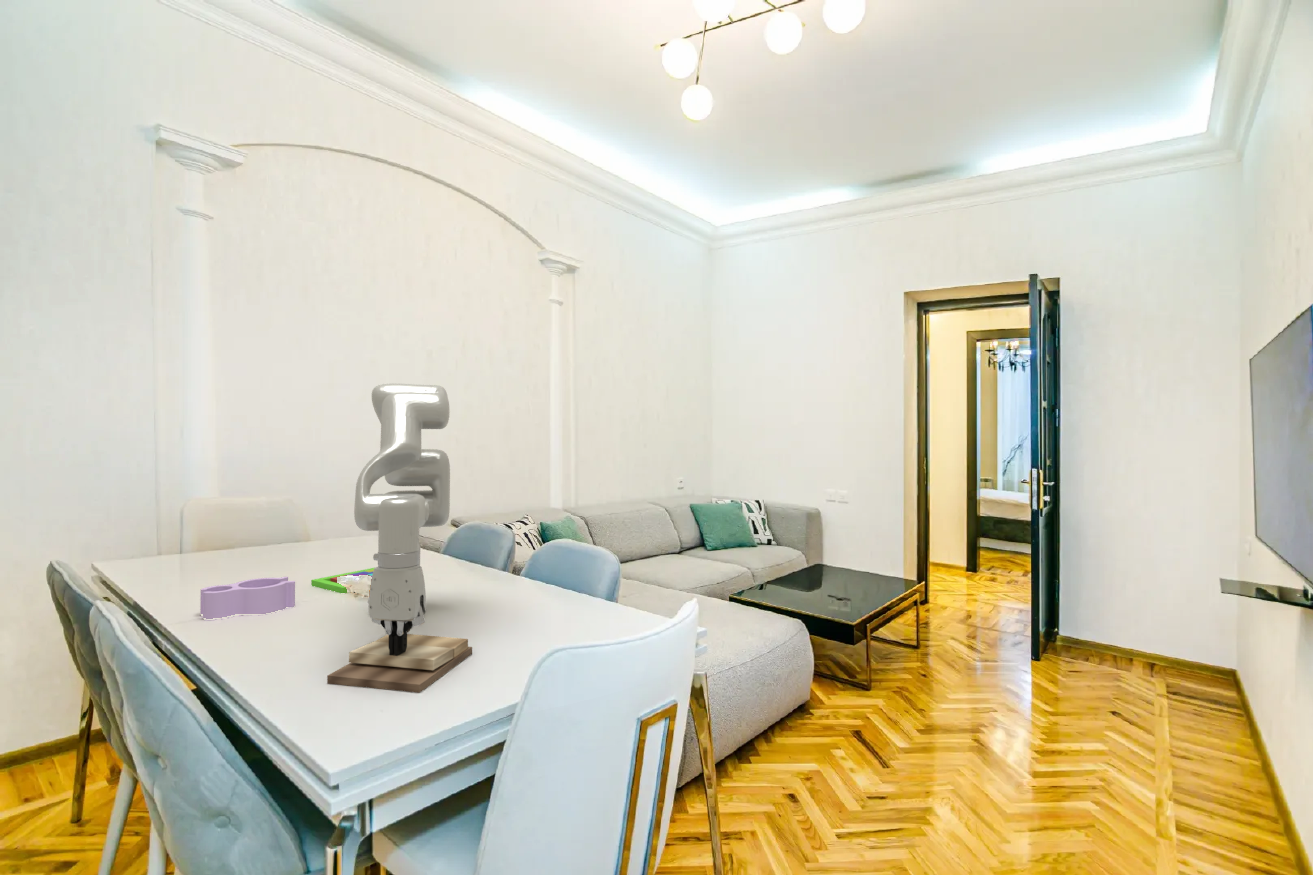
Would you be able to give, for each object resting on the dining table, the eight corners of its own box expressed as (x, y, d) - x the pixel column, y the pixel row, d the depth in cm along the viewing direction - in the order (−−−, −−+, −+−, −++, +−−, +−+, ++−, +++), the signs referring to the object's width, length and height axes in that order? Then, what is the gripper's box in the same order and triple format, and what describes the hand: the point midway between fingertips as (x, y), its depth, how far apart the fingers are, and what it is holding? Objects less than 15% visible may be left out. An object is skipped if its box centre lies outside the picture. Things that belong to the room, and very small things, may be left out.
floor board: (327, 683, 124) (327, 665, 124) (391, 646, 144) (391, 631, 144) (419, 692, 120) (419, 673, 120) (472, 653, 141) (472, 637, 141)
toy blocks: (311, 587, 196) (362, 600, 183) (311, 579, 196) (362, 592, 183) (378, 573, 215) (429, 584, 202) (379, 566, 215) (429, 577, 202)
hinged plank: (348, 662, 129) (349, 652, 129) (373, 651, 137) (373, 641, 137) (433, 670, 126) (433, 659, 126) (453, 658, 134) (453, 648, 134)
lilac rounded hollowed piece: (206, 624, 158) (206, 596, 158) (197, 613, 167) (197, 586, 167) (298, 609, 172) (298, 583, 172) (284, 599, 181) (285, 574, 181)
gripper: (352, 562, 127) (351, 657, 127) (423, 565, 124) (422, 662, 124) (376, 555, 134) (375, 645, 134) (443, 558, 132) (442, 650, 132)
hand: (397, 653), depth 129 cm, fingers closed
